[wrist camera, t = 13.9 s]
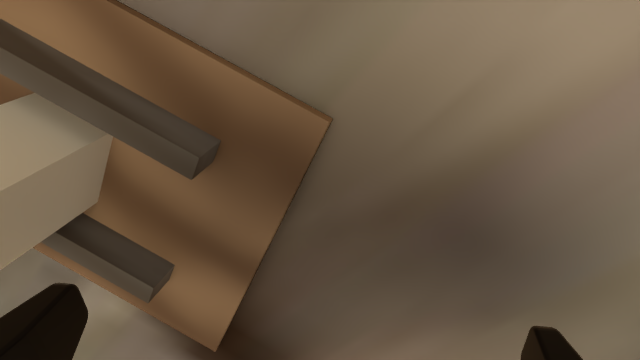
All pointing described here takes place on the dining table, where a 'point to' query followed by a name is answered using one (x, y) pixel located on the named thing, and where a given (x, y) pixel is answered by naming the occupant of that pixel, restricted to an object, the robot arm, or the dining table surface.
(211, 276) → the brown flat board
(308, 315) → the dining table surface
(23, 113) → the cream square-faced block
